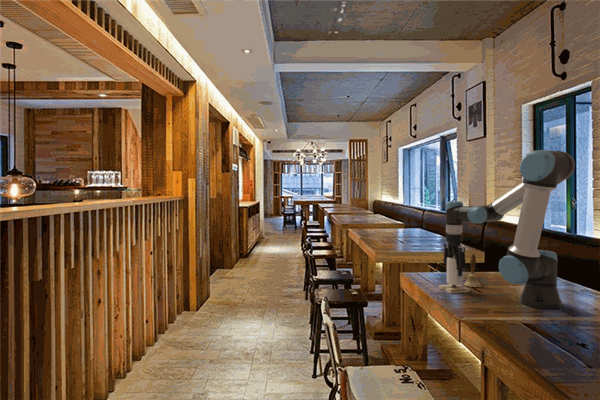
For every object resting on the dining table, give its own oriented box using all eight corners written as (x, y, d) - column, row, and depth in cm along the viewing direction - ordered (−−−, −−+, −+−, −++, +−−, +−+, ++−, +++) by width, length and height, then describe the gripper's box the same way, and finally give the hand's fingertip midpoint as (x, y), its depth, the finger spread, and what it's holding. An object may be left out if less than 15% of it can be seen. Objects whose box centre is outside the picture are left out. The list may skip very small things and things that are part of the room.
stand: (469, 291, 194) (469, 269, 194) (451, 293, 192) (451, 271, 191) (456, 286, 204) (456, 265, 203) (438, 288, 201) (438, 267, 201)
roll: (464, 284, 195) (464, 259, 195) (452, 285, 194) (452, 260, 193) (455, 281, 202) (456, 256, 201) (444, 282, 200) (444, 257, 199)
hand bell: (478, 283, 210) (478, 252, 209) (483, 288, 201) (484, 255, 201) (461, 283, 210) (461, 252, 210) (466, 287, 202) (466, 255, 202)
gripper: (474, 235, 188) (474, 285, 189) (449, 231, 207) (448, 276, 208) (460, 236, 186) (459, 286, 187) (435, 231, 205) (435, 277, 206)
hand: (454, 280), depth 197 cm, fingers closed on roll, 7 cm apart
